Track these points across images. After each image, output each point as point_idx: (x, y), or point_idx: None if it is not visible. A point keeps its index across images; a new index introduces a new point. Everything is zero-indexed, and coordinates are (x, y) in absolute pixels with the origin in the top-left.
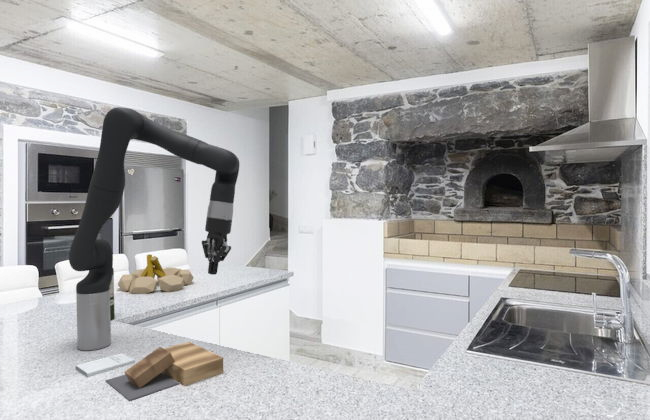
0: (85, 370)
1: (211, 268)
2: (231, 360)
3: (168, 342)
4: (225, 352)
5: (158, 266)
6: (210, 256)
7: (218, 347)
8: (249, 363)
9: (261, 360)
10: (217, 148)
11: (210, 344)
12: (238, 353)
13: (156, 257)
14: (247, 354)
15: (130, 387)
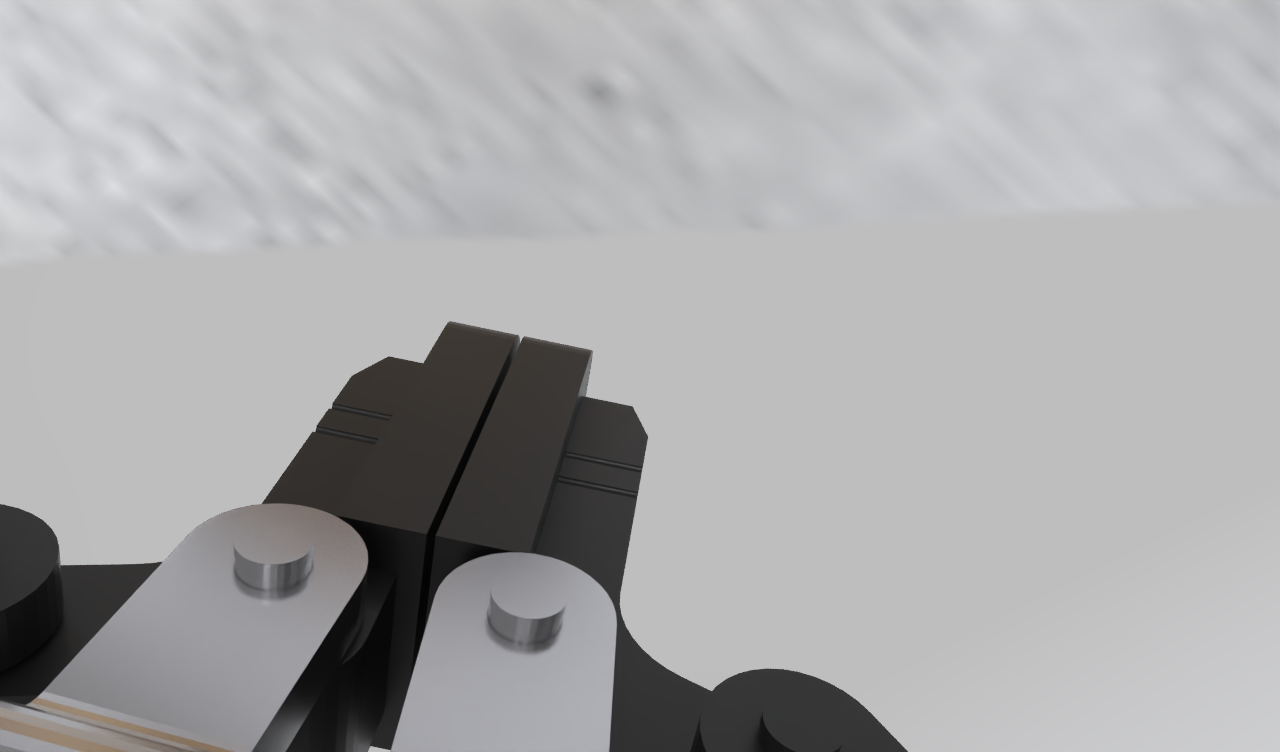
0: None
1: (404, 402)
2: (251, 12)
3: (1210, 18)
4: (463, 135)
5: None
6: (416, 691)
7: (626, 197)
8: (59, 51)
9: (35, 167)
10: None
11: (759, 215)
12: (340, 183)
13: None
14: (252, 209)
15: None
